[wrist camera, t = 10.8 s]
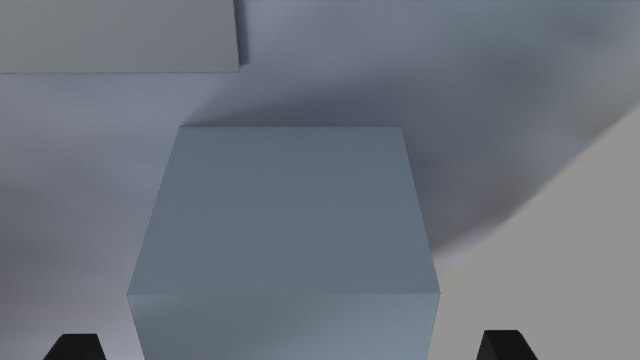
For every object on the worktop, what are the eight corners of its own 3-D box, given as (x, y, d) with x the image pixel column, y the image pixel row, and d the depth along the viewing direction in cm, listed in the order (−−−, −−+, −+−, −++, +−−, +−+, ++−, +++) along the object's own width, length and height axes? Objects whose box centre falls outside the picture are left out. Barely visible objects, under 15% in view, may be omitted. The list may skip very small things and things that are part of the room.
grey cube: (383, 275, 16) (407, 450, 12) (204, 276, 16) (171, 453, 12) (400, 125, 13) (440, 293, 9) (180, 125, 13) (126, 295, 9)
